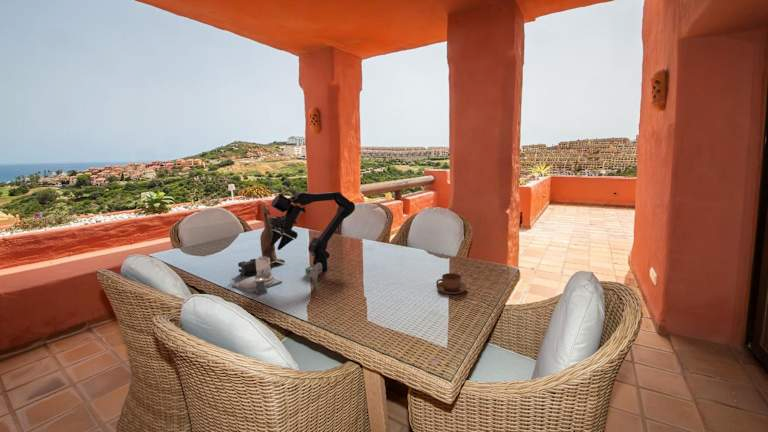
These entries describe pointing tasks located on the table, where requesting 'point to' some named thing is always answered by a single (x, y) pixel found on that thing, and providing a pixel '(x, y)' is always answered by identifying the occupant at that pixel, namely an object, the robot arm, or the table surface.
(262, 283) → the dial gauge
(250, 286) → the turntable
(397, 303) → the table surface
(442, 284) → the cup and saucer
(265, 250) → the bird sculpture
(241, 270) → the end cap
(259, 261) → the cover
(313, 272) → the mechanical component
